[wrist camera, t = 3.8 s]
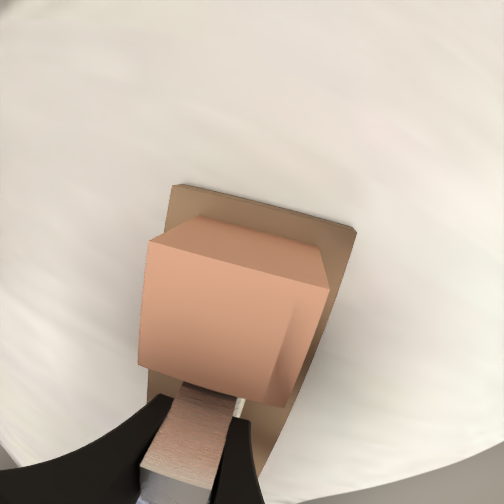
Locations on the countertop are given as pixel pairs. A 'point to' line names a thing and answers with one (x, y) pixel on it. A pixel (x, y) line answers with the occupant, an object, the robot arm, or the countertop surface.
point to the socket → (230, 308)
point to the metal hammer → (188, 447)
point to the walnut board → (284, 225)
